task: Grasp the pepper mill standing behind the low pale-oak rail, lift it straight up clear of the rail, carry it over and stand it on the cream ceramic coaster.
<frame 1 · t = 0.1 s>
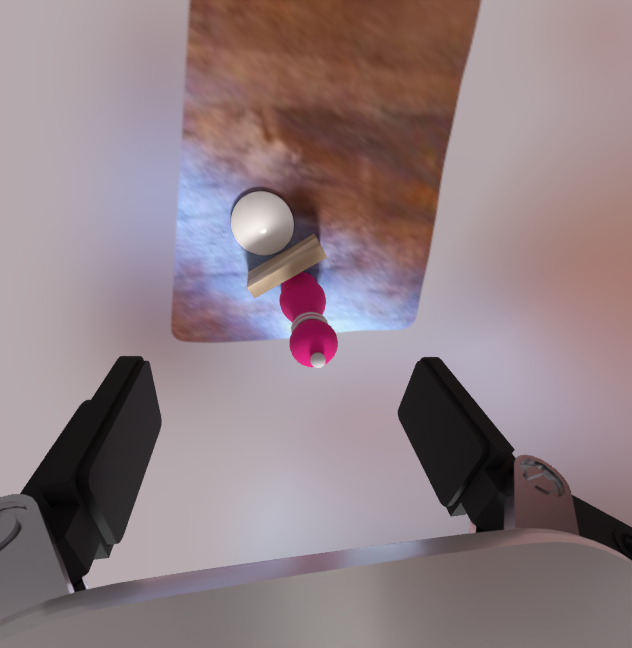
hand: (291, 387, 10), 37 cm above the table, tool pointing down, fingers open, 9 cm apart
pepper mill: (299, 288, 50), on the table
coaster: (263, 224, 43), on the table
oak rail: (284, 258, 46), on the table
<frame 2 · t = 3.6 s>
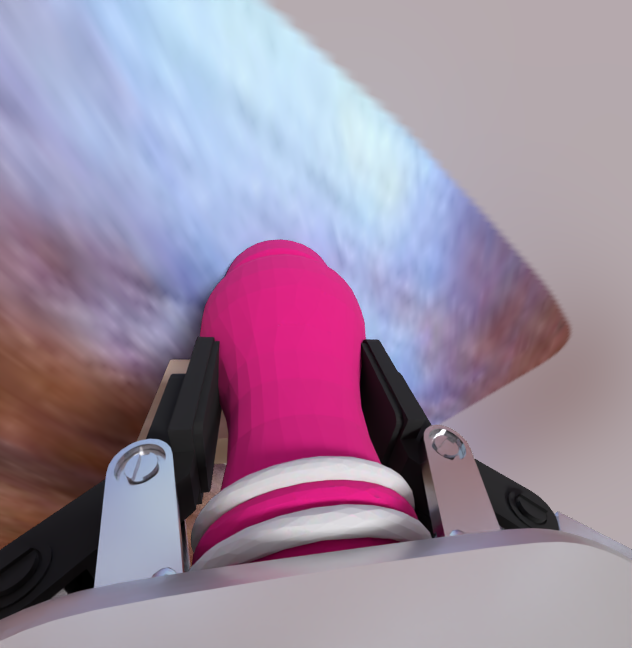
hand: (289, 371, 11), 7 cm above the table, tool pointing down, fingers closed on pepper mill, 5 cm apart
pepper mill: (279, 290, 17), on the table, touching gripper
oak rail: (266, 371, 20), on the table
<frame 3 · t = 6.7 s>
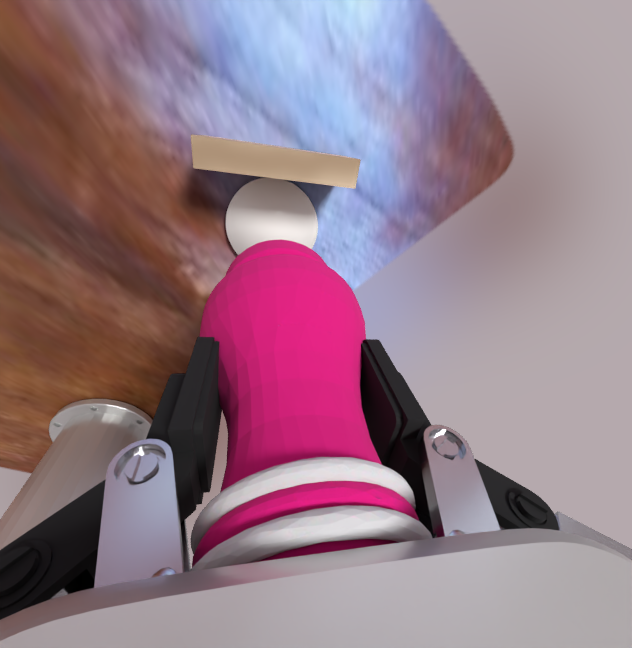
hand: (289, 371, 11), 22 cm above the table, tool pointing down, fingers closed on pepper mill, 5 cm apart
pepper mill: (279, 290, 17), point 15 cm above the table, touching gripper
coaster: (272, 226, 29), on the table
oak rail: (276, 158, 26), on the table
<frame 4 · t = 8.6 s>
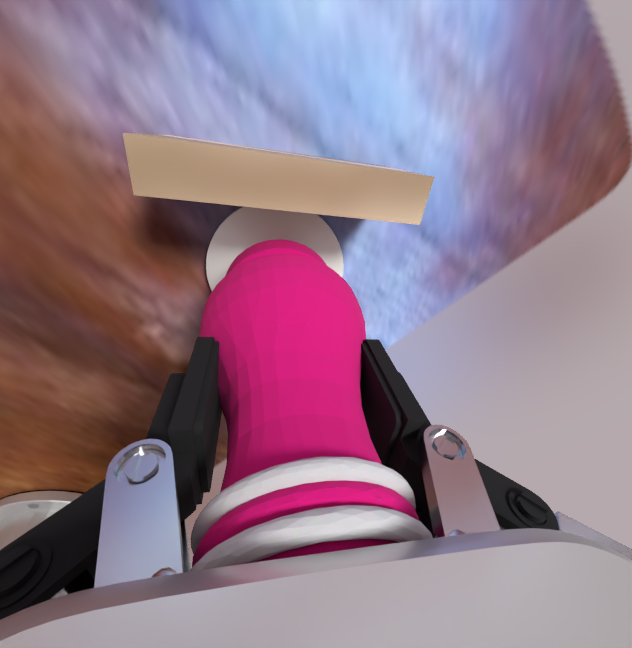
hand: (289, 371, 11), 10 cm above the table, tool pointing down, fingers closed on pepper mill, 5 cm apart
pepper mill: (279, 290, 17), point 3 cm above the table, touching gripper
coaster: (277, 270, 20), on the table
oak rail: (283, 171, 17), on the table
when the fingers open (9 cm above the table, at t = 9.7 s): pepper mill drops 2 cm, resting on coaster.
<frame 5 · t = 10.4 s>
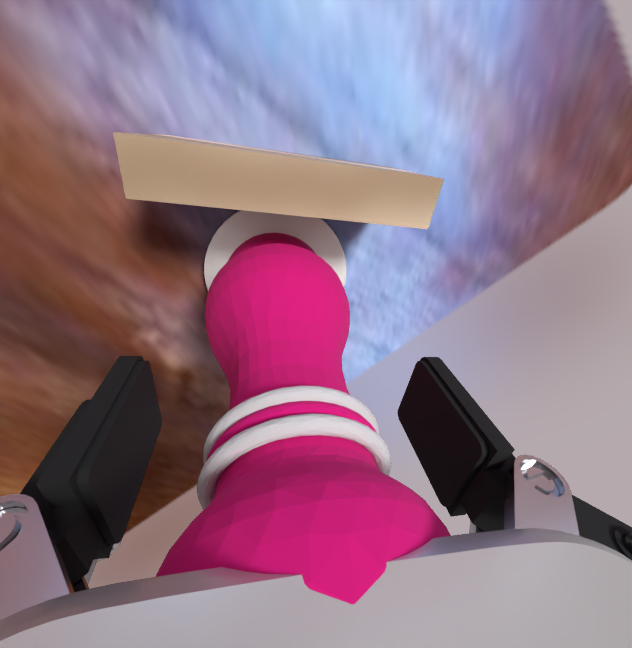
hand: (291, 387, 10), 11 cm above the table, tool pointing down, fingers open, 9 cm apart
pepper mill: (275, 279, 19), resting on coaster
coaster: (277, 274, 19), on the table
oak rail: (284, 173, 16), on the table
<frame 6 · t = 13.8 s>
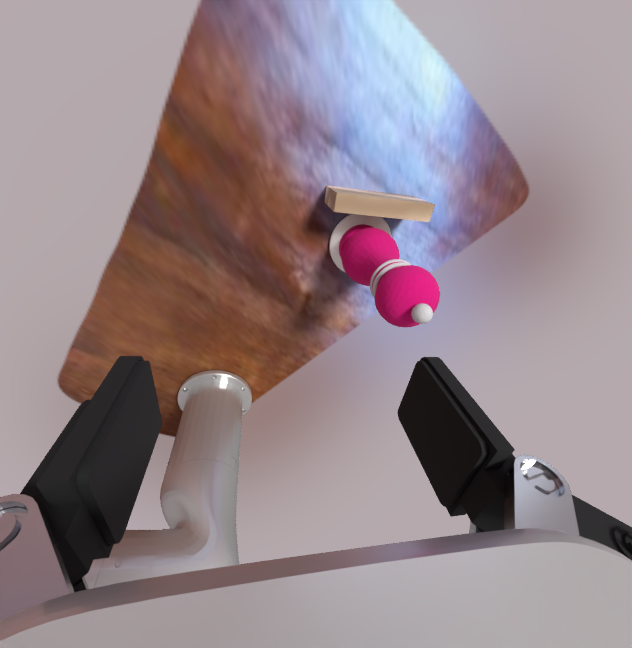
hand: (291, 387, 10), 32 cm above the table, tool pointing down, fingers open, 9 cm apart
pepper mill: (359, 246, 42), resting on coaster
coaster: (360, 243, 42), on the table
oak rail: (369, 199, 39), on the table
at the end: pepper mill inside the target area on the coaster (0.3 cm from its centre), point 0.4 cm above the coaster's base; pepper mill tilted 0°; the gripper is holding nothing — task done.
